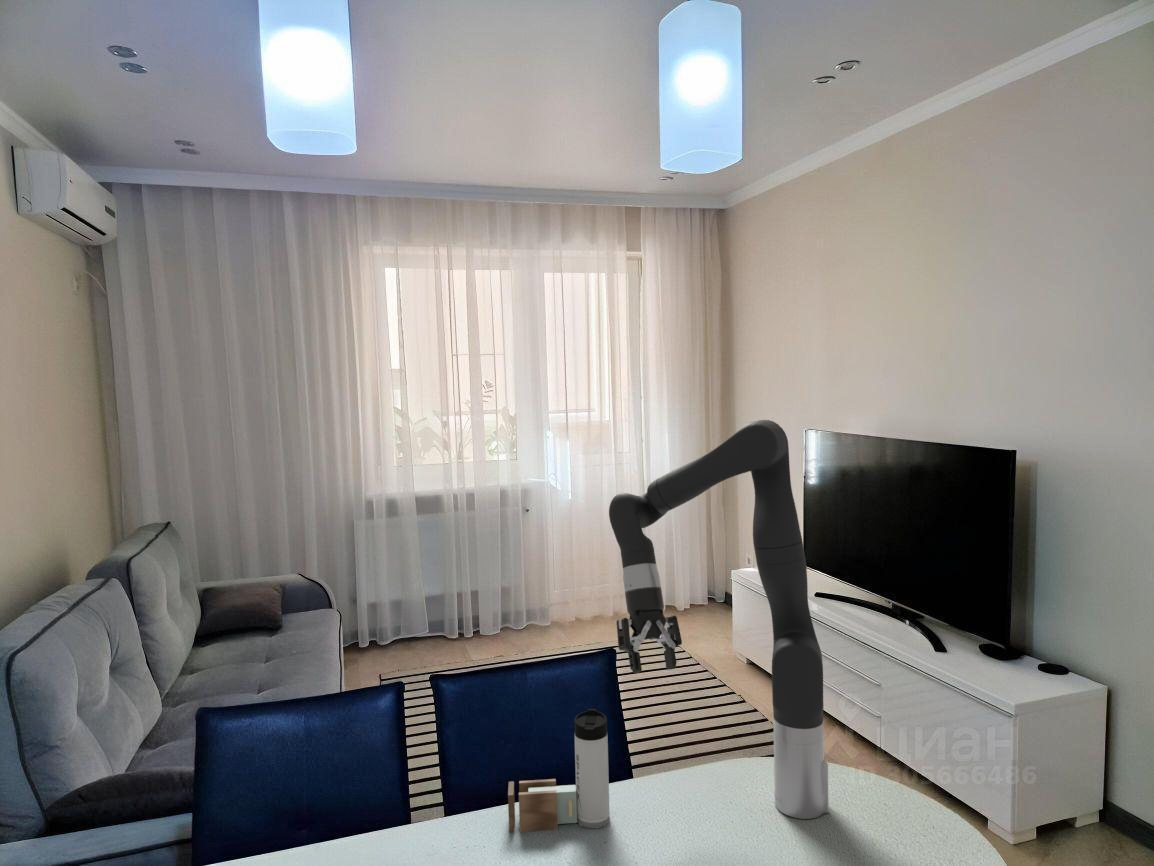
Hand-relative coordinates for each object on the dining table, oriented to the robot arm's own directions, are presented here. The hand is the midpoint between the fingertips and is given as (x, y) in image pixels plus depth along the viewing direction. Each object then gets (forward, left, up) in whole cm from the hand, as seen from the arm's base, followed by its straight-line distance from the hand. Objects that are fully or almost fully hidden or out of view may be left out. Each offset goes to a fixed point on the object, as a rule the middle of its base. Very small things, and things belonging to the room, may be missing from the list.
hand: (654, 670), depth 145 cm
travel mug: (+13, +6, -26) cm, 30 cm away
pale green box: (+21, +6, -26) cm, 34 cm away
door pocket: (+24, +6, -26) cm, 36 cm away
